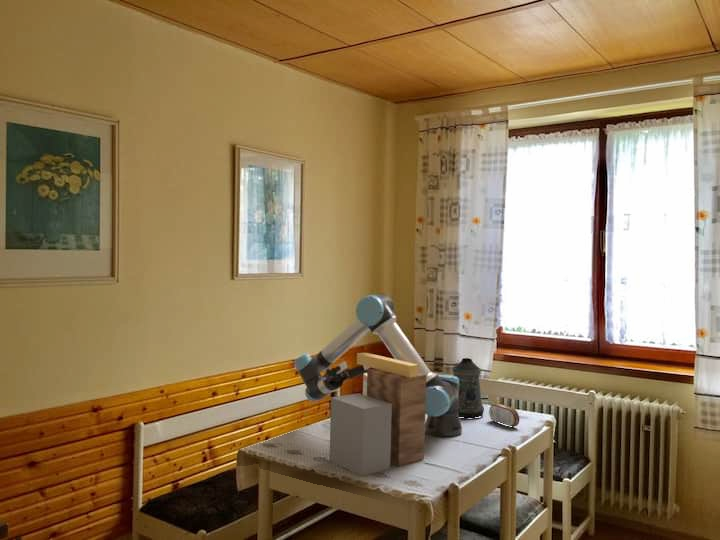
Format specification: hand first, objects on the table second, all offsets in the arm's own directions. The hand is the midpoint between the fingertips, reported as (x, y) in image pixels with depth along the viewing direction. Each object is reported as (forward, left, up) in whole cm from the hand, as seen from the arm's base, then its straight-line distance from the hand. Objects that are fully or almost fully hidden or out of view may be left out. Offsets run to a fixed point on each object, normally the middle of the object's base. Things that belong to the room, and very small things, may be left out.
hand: (359, 362), depth 236 cm
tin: (-59, -35, -31) cm, 75 cm away
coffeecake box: (-4, -29, -30) cm, 42 cm away
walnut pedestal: (-14, +14, -30) cm, 36 cm away
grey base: (-3, +25, -30) cm, 40 cm away
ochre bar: (-11, +10, 0) cm, 15 cm away
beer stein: (-43, -50, -30) cm, 72 cm away
